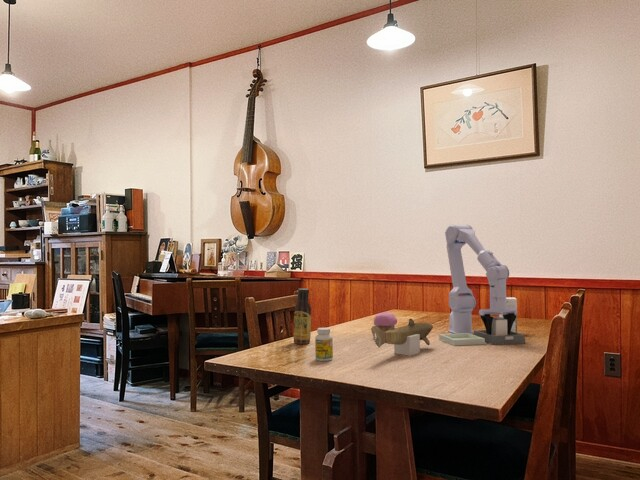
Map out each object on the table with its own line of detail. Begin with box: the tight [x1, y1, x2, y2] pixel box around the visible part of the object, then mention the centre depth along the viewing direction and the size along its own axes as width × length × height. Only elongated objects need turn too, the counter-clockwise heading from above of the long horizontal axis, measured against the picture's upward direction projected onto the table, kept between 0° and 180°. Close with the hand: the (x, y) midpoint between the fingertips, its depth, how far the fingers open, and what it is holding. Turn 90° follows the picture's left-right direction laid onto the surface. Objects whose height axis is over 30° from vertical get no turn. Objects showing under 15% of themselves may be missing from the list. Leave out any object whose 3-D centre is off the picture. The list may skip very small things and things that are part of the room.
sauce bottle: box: [292, 288, 312, 345], centre depth 179 cm, size 7×6×20 cm
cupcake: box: [373, 311, 398, 332], centre depth 189 cm, size 9×9×10 cm
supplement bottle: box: [314, 327, 334, 362], centre depth 152 cm, size 5×5×10 cm
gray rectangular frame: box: [473, 329, 526, 346], centre depth 182 cm, size 14×13×3 cm
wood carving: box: [370, 318, 434, 357], centre depth 160 cm, size 9×35×11 cm, turn 138°
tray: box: [438, 333, 486, 347], centre depth 180 cm, size 12×12×2 cm
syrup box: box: [498, 296, 518, 333], centre depth 199 cm, size 6×6×14 cm
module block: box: [492, 316, 507, 336], centre depth 182 cm, size 4×4×9 cm
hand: (498, 334), depth 182 cm, fingers open, 7 cm apart
